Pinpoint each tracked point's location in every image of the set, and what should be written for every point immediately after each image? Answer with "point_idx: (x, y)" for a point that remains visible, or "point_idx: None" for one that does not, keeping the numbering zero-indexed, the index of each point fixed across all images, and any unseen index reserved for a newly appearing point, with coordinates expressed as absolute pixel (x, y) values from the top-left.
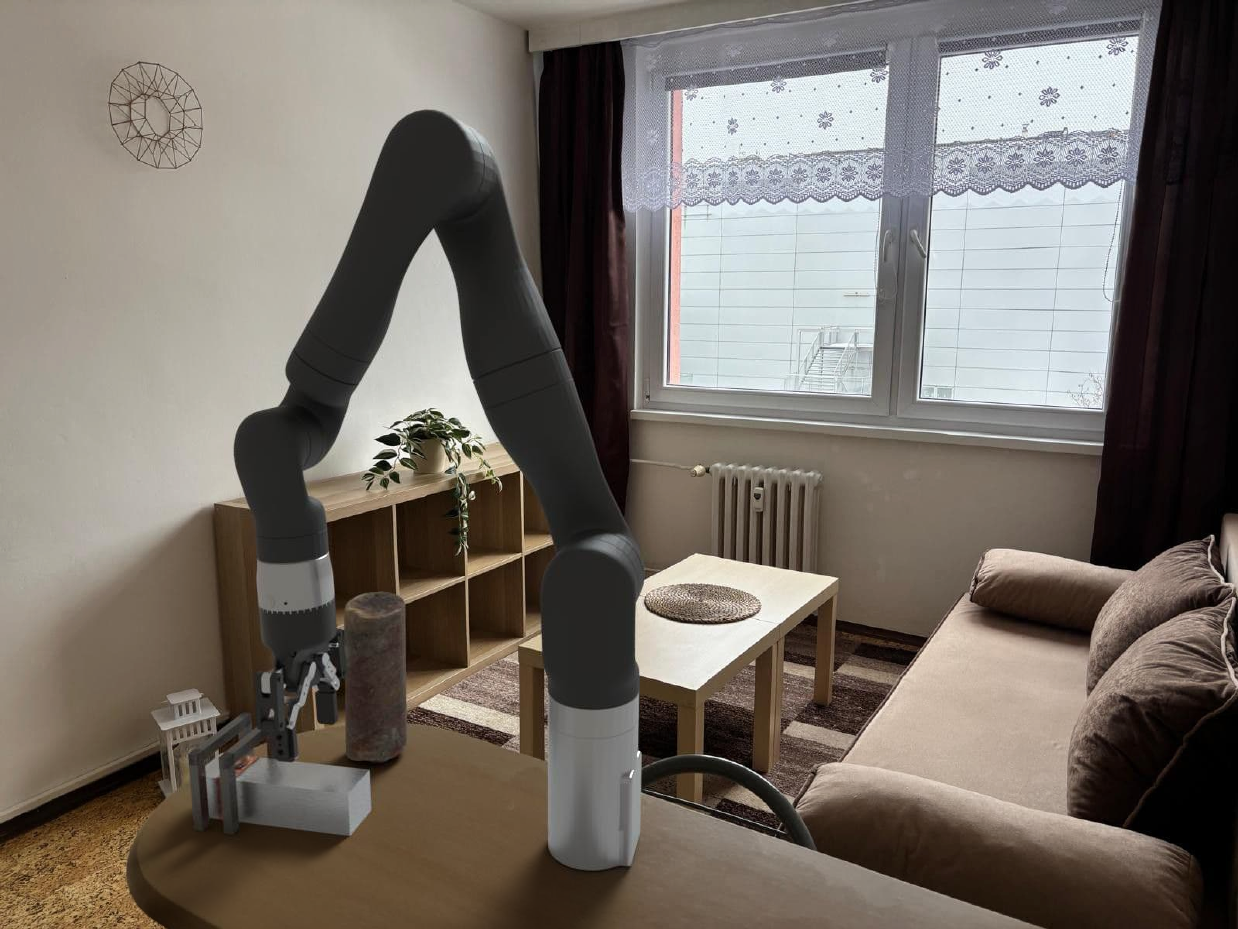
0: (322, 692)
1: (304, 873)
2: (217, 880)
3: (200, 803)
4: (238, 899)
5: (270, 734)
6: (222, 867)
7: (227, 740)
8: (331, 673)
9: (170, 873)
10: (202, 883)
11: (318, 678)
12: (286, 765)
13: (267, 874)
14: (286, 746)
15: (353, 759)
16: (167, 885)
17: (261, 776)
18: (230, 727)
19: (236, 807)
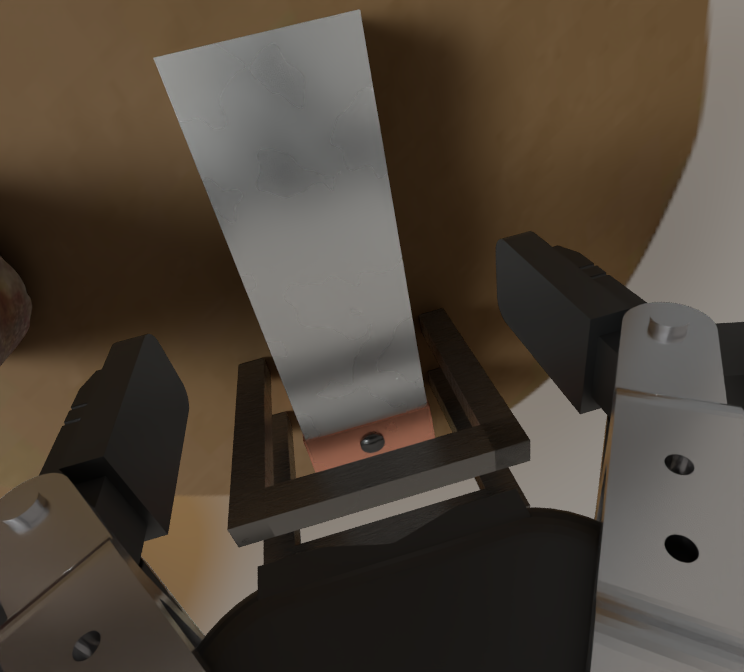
0: (135, 512)
1: (529, 20)
2: (586, 210)
3: None
4: (642, 111)
5: (269, 484)
6: (545, 237)
7: (384, 523)
8: (103, 619)
9: None
10: (598, 230)
11: (299, 606)
12: (304, 357)
13: (550, 119)
14: (603, 276)
15: (28, 297)
16: None
17: (384, 367)
18: None
19: (440, 344)
